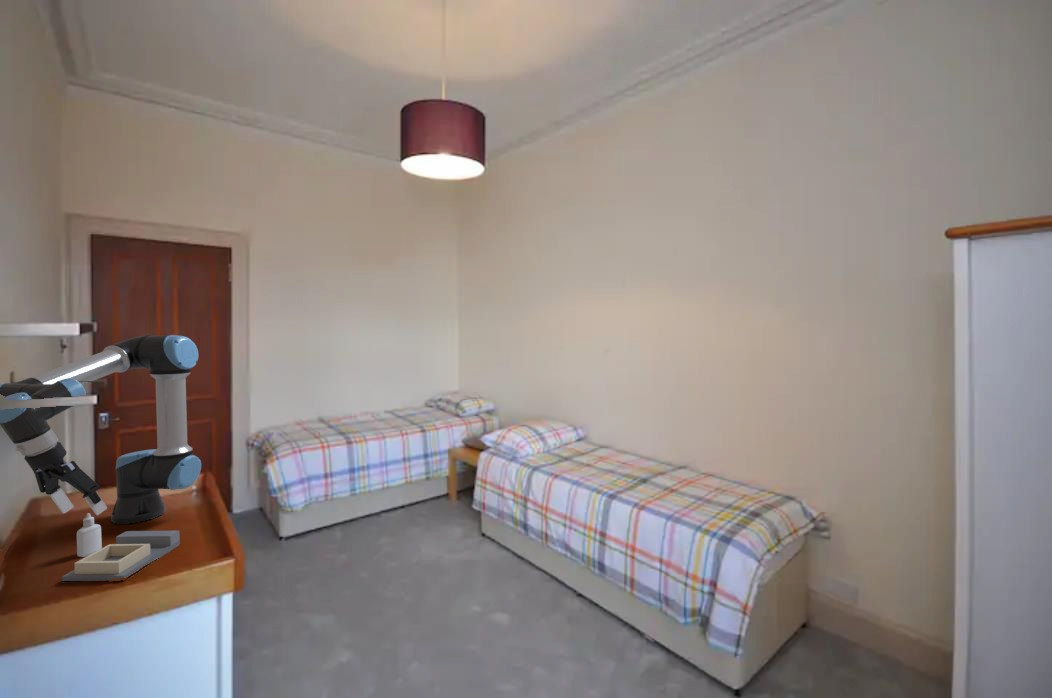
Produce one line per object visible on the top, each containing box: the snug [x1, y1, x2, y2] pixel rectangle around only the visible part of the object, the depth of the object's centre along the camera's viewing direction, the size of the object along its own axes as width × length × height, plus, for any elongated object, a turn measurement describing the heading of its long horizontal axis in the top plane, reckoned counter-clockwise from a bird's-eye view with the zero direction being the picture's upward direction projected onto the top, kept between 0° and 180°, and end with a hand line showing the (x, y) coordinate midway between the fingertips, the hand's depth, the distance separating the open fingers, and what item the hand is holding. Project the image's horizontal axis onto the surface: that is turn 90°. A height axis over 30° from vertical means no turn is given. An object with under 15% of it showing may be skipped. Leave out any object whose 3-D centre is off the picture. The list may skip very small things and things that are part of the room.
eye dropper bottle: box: [76, 512, 103, 558], centre depth 146 cm, size 4×6×12 cm
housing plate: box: [61, 530, 181, 581], centre depth 141 cm, size 22×16×4 cm
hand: (84, 511), depth 137 cm, fingers open, 13 cm apart
